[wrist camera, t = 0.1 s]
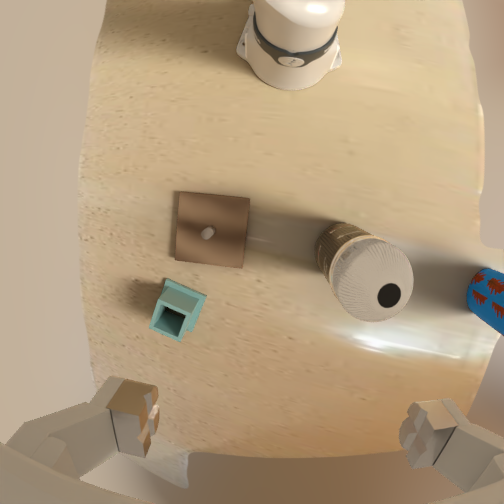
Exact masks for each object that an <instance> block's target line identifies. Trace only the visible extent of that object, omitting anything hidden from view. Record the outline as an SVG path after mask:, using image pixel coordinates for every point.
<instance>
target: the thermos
mask: <svg viewBox="0 0 504 504" xmlns="http://www.w3.org/2000/svg"><path fill="white" fill-rule="evenodd" d="M467 304H468V306H469V309H470V310H471V311H472V312H473V313H475V314H476V315H477V316H478V317H479V318H480V319H482V320H483V321H484V322H486V323H487V324H488V325H490V326H491V327H492V328H494V329H495V330H496V331H498V332H499V333H500V334H502V335H503V336H504V274H503V273H500V272H498V271H495V270H492V269H483V270H482V271H480V272H478V273H477V274H476V276H475V277H474V278H473V279H472V281H471V283H470V285H469V288H468V292H467Z"/></svg>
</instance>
